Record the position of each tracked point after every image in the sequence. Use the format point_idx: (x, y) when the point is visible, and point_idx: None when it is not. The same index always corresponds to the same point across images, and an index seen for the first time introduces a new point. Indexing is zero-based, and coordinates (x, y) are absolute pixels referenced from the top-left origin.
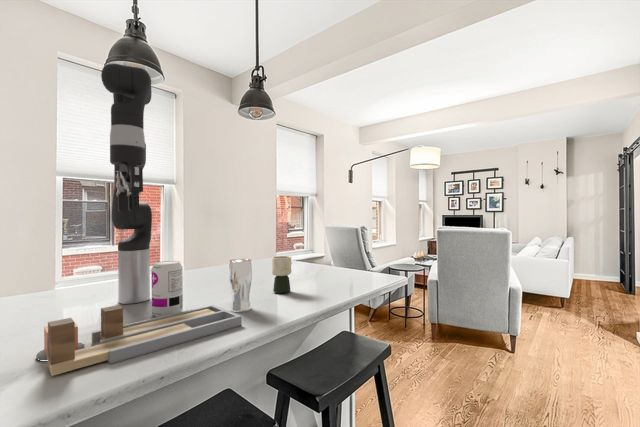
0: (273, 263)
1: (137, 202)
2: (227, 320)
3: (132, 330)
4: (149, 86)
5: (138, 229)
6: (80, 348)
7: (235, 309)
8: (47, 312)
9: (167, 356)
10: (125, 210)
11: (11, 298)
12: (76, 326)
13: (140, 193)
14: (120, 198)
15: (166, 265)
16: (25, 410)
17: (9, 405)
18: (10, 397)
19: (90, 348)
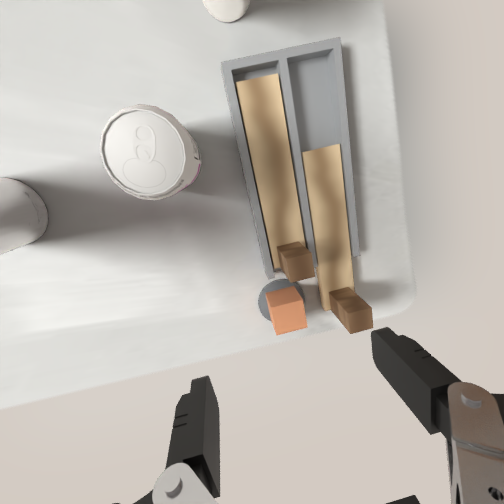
0: None
1: (429, 357)
2: (343, 74)
3: (287, 229)
4: None
5: None
6: (290, 283)
7: (242, 12)
8: (50, 350)
9: (373, 190)
10: (209, 384)
11: None
12: (302, 301)
13: (469, 387)
14: (218, 473)
15: (185, 162)
16: (398, 304)
17: (380, 316)
18: None
19: (326, 275)
